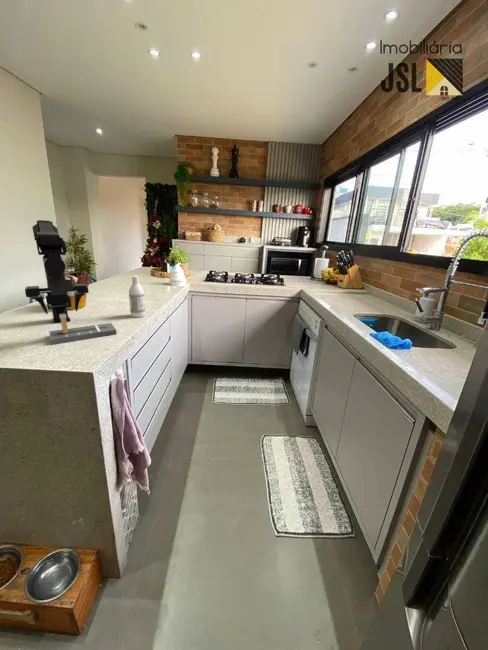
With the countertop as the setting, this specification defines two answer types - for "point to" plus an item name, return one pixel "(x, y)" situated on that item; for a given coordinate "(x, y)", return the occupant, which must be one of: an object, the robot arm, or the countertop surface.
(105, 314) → the countertop surface
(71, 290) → the robot arm
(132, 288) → the bath foam
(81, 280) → the bucket of meat
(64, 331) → the fader tab
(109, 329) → the console
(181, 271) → the honey pot
